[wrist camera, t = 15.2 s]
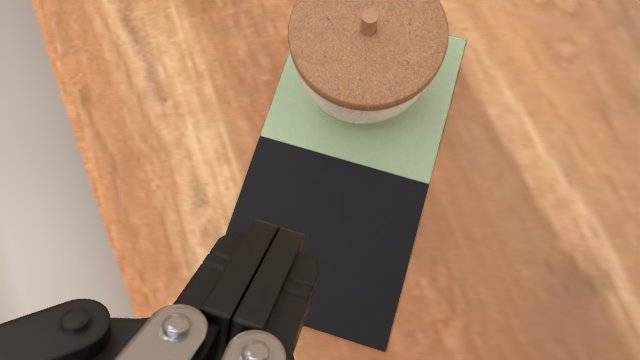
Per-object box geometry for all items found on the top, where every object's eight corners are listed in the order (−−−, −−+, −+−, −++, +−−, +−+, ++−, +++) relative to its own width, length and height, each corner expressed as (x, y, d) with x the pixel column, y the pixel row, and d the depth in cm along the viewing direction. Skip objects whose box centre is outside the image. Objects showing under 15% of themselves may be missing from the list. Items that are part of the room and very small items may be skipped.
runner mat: (384, 351, 33) (385, 351, 33) (205, 293, 34) (205, 293, 34) (465, 40, 39) (466, 39, 38) (308, 0, 40) (308, -1, 40)
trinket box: (425, 146, 36) (455, 100, 27) (291, 138, 37) (277, 90, 28) (427, 25, 39) (456, -54, 30) (301, 19, 39) (292, -61, 30)
